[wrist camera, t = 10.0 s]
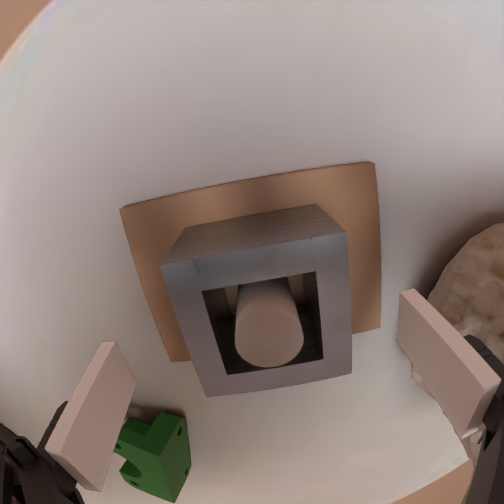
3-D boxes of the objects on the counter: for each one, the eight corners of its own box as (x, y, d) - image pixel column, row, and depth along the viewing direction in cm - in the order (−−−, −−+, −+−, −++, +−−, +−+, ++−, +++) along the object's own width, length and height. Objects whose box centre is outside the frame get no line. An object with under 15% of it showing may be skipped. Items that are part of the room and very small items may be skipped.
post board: (173, 354, 23) (151, 432, 15) (125, 205, 19) (61, 245, 11) (375, 320, 22) (418, 390, 15) (368, 161, 18) (437, 177, 11)
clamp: (147, 385, 30) (99, 414, 21) (198, 401, 29) (160, 440, 20) (144, 465, 29) (106, 502, 20) (189, 482, 28) (158, 526, 19)
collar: (215, 335, 21) (206, 396, 16) (185, 227, 18) (159, 265, 13) (327, 316, 21) (351, 373, 15) (316, 203, 18) (346, 231, 12)
